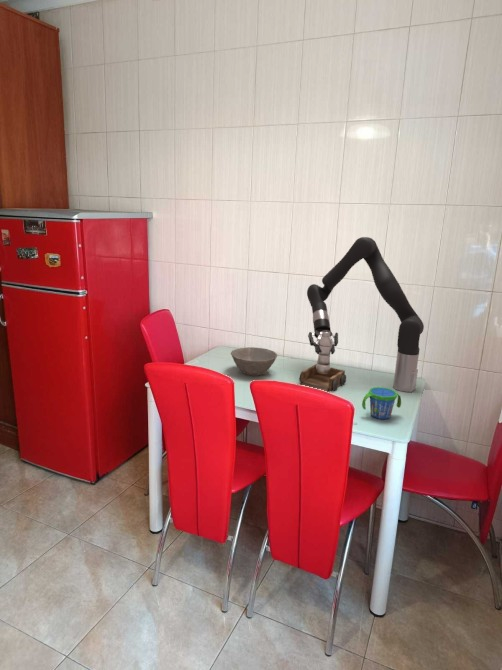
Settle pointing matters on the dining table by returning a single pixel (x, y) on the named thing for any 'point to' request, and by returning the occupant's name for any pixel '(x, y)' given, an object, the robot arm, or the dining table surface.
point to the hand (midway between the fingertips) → (325, 353)
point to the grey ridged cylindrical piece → (324, 353)
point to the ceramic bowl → (253, 360)
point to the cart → (323, 379)
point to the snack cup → (381, 402)
